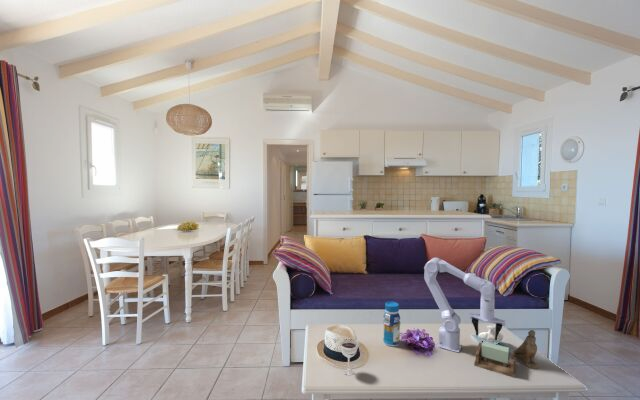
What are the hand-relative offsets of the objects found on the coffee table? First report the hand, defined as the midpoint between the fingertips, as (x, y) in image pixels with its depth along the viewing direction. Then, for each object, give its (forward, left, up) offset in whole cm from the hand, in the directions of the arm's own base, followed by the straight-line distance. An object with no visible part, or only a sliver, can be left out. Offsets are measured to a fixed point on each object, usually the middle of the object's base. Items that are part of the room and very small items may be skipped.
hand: (486, 336), depth 141 cm
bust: (+1, +15, -10) cm, 18 cm away
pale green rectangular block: (+4, -5, -6) cm, 9 cm away
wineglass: (-47, -47, -10) cm, 67 cm away
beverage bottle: (-41, -13, -10) cm, 44 cm away
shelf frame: (+4, -5, -9) cm, 11 cm away
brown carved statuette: (+15, +6, -10) cm, 19 cm away
